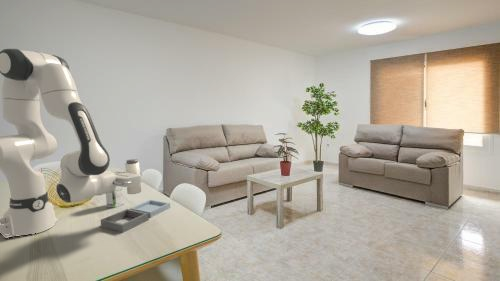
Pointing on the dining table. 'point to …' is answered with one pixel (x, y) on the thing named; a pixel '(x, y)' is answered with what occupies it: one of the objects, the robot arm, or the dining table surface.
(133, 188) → the canister
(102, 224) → the frame
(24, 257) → the dining table surface
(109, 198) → the syrup box
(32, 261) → the dining table surface
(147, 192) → the dining table surface
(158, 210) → the tray
